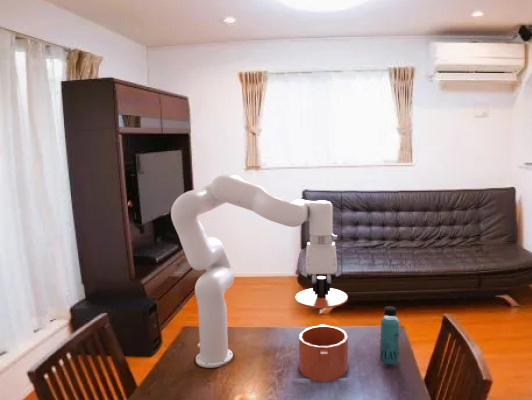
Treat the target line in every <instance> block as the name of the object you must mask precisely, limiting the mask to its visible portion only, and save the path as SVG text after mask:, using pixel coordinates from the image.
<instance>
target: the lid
mask: <svg viewBox="0 0 532 400" xmlns="http://www.w3.org/2000/svg"><path fill="white" fill-rule="evenodd" d="M326 279H327V276H323V275H319V276H316V281H317V295H315V292H313V287H312V288H307V289H304V290H301V291H299V292H298V293H296V294H295V298H294V299H295V302H296V303H298V304H299V305H301V306H303V307H306V308H311V309H332V308H336V307H339V306H342V305H344V304H345V303H346V302H347V301H348V294H347V293H346V292H344V291H342V290H340V289H336V288H332V287H330V291H329V292H328V295H327V294H326Z"/></svg>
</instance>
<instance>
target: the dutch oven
mask: <svg viewBox="0 0 532 400" xmlns="http://www.w3.org/2000/svg"><path fill="white" fill-rule="evenodd" d="M298 338H299V339H298V353H299V354H298V355H299V357H298V358H299V359H298V360H299V364H298V365H299V366H298V367H299V368H298V369H299V371H300V373H301V374H302V375H303V376H305V377H306V378H307V379H308V380H311V381H314V382H320V383H323V382H324V383H325V382H328V383H329V382H334V381H337V380H339V379H340V378H341V377H342V376H344V375H345V374H346V372H347V371H348V367H349V366H348V365H349V364H348V362H349V361H348V358H349V355H348V354H349V337H348V332H346V331H345V330H344V329H342V328H339V327H337V326H333V325H327V324H326V323H322V324H321V323H319V325H314V326H310V327H307V328H305V329H303V330H302V331H301V332H300V333H299V335H298Z"/></svg>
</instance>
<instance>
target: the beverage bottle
mask: <svg viewBox="0 0 532 400" xmlns="http://www.w3.org/2000/svg"><path fill="white" fill-rule="evenodd" d="M383 314H384V316H383V317H381V319H380V340H379V343H380V344H379V359H380V361H381V362H382V363H384V364H387V365H394V364H396V363H398V361H399V358H400V357H399V355H400V352H399V348H400V347H399V346H400V344H399V343H400V341H399V340H400V319H399V318H398V317H397V308H396V307H395V306H391V305H389V306H388V305H387V306H385V307H384V310H383Z"/></svg>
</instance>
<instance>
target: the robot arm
mask: <svg viewBox="0 0 532 400" xmlns="http://www.w3.org/2000/svg"><path fill="white" fill-rule="evenodd" d="M226 203H227V204H230V205H232V206H233V205H234V206H235V207H239V208H243V209H245V210H248V211H252V212H254V213H255V214H256V215H258V216H260V217H262V218H264V219H266V220H268V221H271V222H273V223H277V224H279V225H282V226H286V227H291V228H296V227H300V226H301V225H303V224H304V223H305V222H309V223H308V224H309V241H308V242H306V243H307V244H306V249H305V264H304V267H303V268H302V270H301V276H303V277H305V278H307V279H308V280H309V281H310V282H311V284H312V288H313V292H315V295H317V275H326V294H327V295H328V292H329V291H330V288H331V283H332V281H333V280H334V279H335V278H336V277H338V276H339V277H340V276H341V275H342V271H341V269H340V267H339V265H338V259H337V245H336V242H335V240H338V235H335V234H334V233H333V232H334V229H333V228H334V225H333V223H334V221H333V220H334V213H333V212H334V211H333V210H334V209H333V203H332V202H331V201H328V200H308V199H307V200H306V199H295V200H293V201H291V202H290V201H287V200H284V199H281V198H278V197H275V196H273V195H271V194H269V193H268V192H267V190H265V188H264V187H262V186H261V185H258V184H254V183H251V182H249V181H245V180H244V179H242V177H241V176H239V175H238V174H235V173H227V174H222V175H218V176H217V177H215V178H214V179H213V180H212V182H211V183H209V184H206V185H205V186H203V187H200V188H195V189H192V190H188V191H186V192H184V193H182V194H180V195H179V196H178V197H177V198H176V199H175V200H174V202H173V204H172V205H171V209H170V210H171V211H170V217H171V222H172V225H173V227H174V230H175V231H176V233H177V235H178V238H179V242H180V244H181V247H182V249H183V252H184V254H185V255H184V256H185V257H186V260H187V262H188V265H189V266H190V268H192V269H193V270H195V271H203V270H206V271H205V272H204V273H203V274H201V276H199V278H198V279H197V280H196V282H195V285H194V294H195V298H196V305H197V314H198V315H197V316H198V334H199V335H198V338H199V343H198V344H197V345H196V346H197V347H198V348H199V353H197V355H196V356H195V363H196V364H197V365H198V366H199V367H202V368H207V369H212V368H219V367H221V366H224V365H226V364H228V363H229V362H230V361H232V360H233V357H234V355H233V351H232V350H231V349H229V341H228V340H229V337H228V313H227V312H228V311H227V309H228V308H227V304H226V300H225V293H226V291H228V290H229V289H230V288H231V287H232V285H233V284H234V281H235V273H234V269H233V267H232V264H231V261H230V259H229V257H228V254H227V250H226V249H225V246H224V245H223V243H222V242H221V241H220V240H219V239H218V238H216V237H213V236H208V235H207V234H206V232H205V229H204V226H203V225H202V223H201V222H200V220H199V219H198V217H199V216H200V215H202V214H204V213H208V212H210V211H212V210H214V209H216V208H218V207H220V206H222V205H224V204H226Z"/></svg>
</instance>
